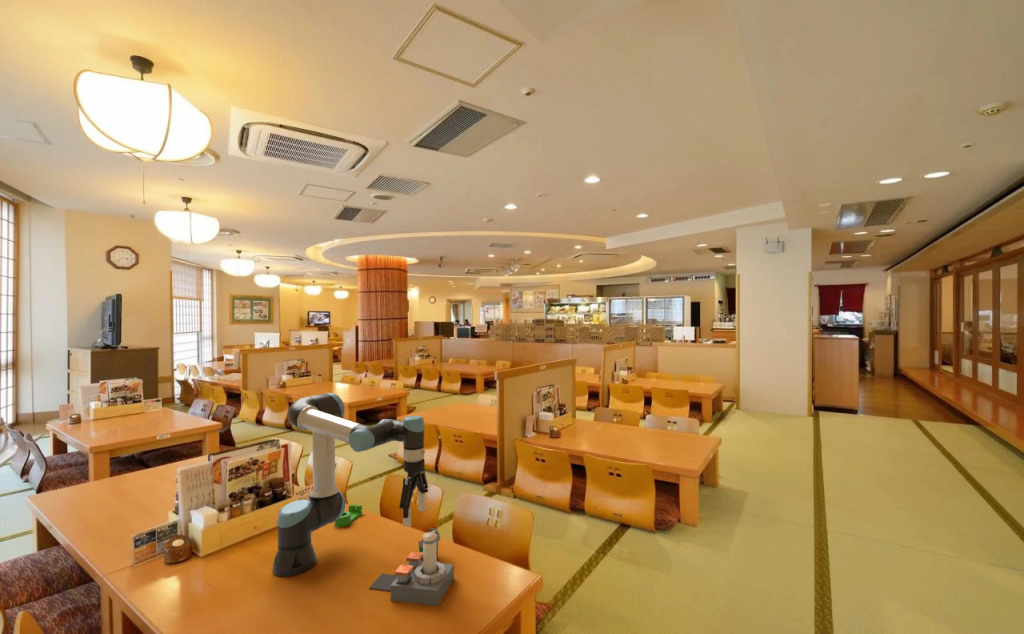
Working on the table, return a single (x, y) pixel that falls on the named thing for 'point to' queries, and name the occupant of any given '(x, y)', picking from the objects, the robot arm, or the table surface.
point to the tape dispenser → (349, 515)
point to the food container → (436, 542)
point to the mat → (383, 582)
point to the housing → (424, 586)
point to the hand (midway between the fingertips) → (414, 517)
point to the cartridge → (429, 553)
